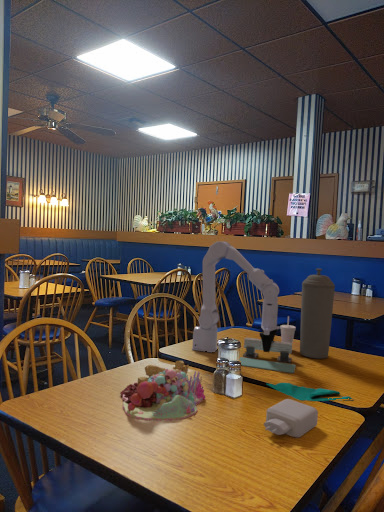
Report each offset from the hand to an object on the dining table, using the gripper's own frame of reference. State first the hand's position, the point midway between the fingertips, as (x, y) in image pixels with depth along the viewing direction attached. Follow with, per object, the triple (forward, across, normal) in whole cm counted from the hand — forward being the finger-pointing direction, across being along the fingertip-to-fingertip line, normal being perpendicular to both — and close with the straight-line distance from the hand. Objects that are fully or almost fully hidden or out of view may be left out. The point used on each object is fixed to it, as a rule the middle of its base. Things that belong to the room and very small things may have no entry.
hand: (267, 349), depth 157 cm
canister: (+3, +12, -17) cm, 21 cm away
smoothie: (+3, +16, -6) cm, 17 cm away
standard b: (+3, 0, -6) cm, 7 cm away
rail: (0, 0, 0) cm, 0 cm away
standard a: (+3, 0, +6) cm, 7 cm away
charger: (+4, -58, -12) cm, 59 cm away
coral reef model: (+4, -54, +21) cm, 58 cm away
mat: (+3, -10, 0) cm, 10 cm away
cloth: (+4, -31, -16) cm, 35 cm away
